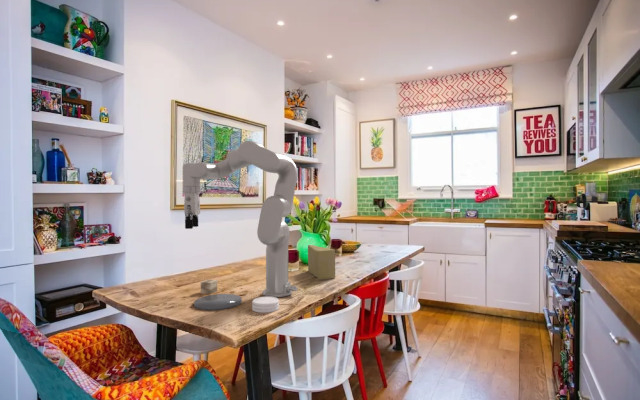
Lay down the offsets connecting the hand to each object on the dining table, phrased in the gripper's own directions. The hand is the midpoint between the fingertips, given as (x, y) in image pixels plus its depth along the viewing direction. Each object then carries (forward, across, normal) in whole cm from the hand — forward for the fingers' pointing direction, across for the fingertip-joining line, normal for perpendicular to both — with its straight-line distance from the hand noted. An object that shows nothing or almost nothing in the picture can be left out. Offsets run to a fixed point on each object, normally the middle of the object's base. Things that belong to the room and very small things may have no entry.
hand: (191, 227), depth 166 cm
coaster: (+28, -34, -36) cm, 57 cm away
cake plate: (+28, -26, -16) cm, 41 cm away
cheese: (+28, +19, -60) cm, 69 cm away
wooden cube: (+28, -9, -9) cm, 31 cm away
